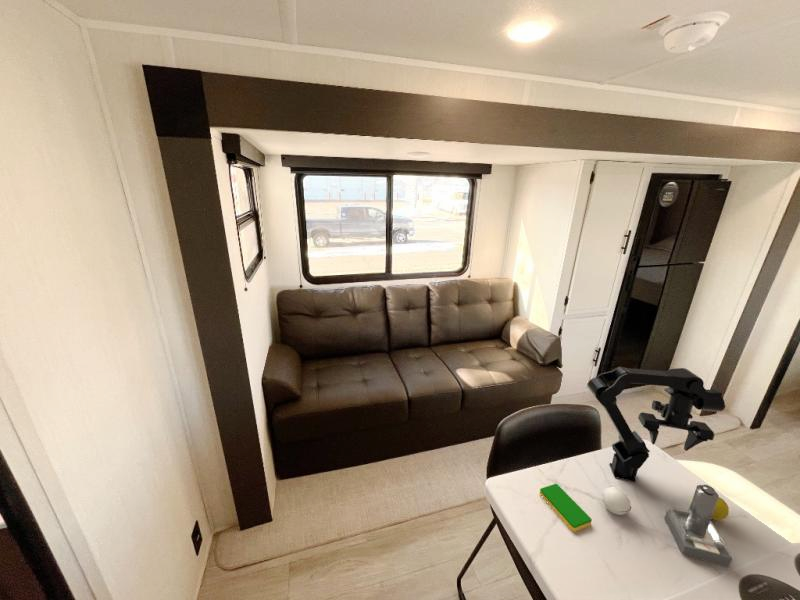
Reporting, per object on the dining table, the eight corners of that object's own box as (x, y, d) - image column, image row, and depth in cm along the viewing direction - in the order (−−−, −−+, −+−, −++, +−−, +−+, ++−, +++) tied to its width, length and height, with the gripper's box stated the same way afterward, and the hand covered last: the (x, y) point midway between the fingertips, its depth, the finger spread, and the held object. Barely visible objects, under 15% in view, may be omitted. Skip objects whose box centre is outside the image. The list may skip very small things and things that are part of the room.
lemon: (729, 528, 93) (737, 507, 91) (707, 524, 94) (715, 503, 92) (715, 511, 98) (722, 491, 96) (694, 508, 99) (701, 488, 97)
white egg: (613, 523, 94) (618, 504, 92) (594, 501, 101) (598, 483, 99) (641, 517, 96) (647, 498, 94) (620, 496, 103) (625, 478, 101)
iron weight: (686, 530, 89) (699, 490, 85) (683, 518, 92) (696, 479, 88) (707, 539, 86) (722, 498, 82) (703, 525, 90) (717, 486, 86)
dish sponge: (555, 488, 107) (556, 482, 106) (591, 525, 94) (592, 519, 93) (538, 494, 104) (539, 488, 104) (572, 533, 92) (574, 527, 91)
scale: (682, 554, 86) (686, 541, 85) (664, 518, 96) (667, 506, 95) (728, 567, 83) (733, 553, 81) (704, 528, 93) (709, 515, 92)
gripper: (701, 398, 107) (690, 437, 112) (637, 389, 113) (628, 426, 117) (721, 418, 97) (708, 459, 101) (649, 406, 103) (639, 446, 107)
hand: (668, 446), depth 107 cm, fingers open, 9 cm apart
